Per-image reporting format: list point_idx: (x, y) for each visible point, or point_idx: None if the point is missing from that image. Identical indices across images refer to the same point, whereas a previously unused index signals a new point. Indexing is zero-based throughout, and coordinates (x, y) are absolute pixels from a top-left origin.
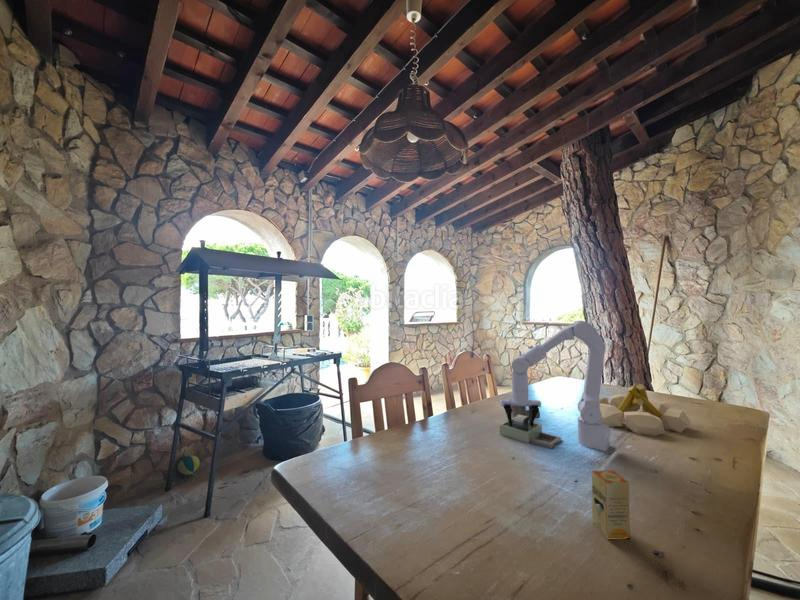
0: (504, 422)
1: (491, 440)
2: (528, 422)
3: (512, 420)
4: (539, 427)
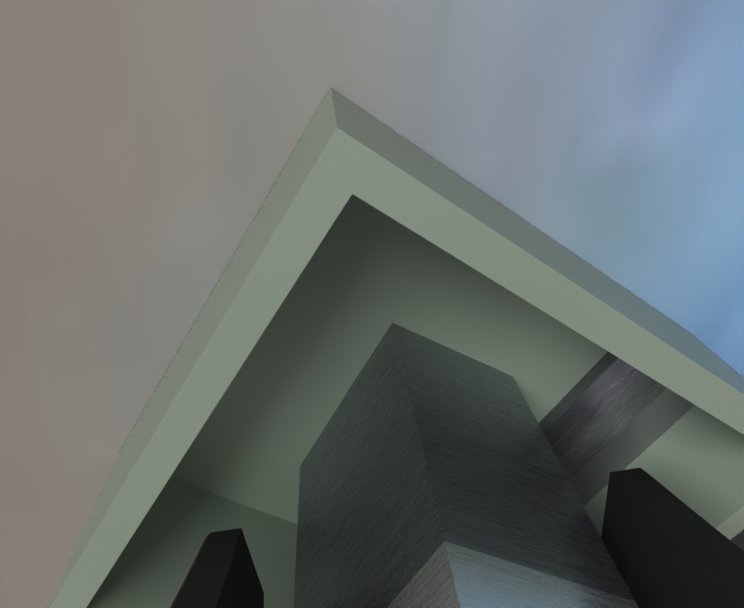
0: (109, 519)
1: (37, 561)
2: (638, 365)
3: (289, 282)
4: (736, 500)
